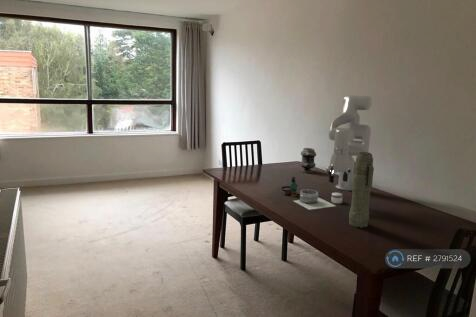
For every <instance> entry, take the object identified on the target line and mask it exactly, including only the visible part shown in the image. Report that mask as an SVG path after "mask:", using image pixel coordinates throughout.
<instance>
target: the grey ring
mask: <svg viewBox="0 0 476 317" xmlns="http://www.w3.org/2000/svg"><path fill="white" fill-rule="evenodd" d="M318 198H319V191H318V190H315V189H308V188H307V189H301V190H299V200H300V202H302V203H305V204H316V203H317V202H318Z"/></svg>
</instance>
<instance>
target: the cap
mask: <svg viewBox="0 0 476 317" xmlns="http://www.w3.org/2000/svg"><path fill="white" fill-rule="evenodd" d="M343 195H344V194H343V193H341V192H331V202H330V203H332V204H343V198H344V197H343Z"/></svg>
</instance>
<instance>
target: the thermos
mask: <svg viewBox="0 0 476 317" xmlns="http://www.w3.org/2000/svg"><path fill="white" fill-rule="evenodd" d="M373 157H374V156H373V154H372V153H371V152H369V151H368V152H360V153H358V155H357V156H355V163H354V174H353V180H352V194H351V205H350V209H349V212H348V214H349V215H348V218H349V219H348V225H349V226H351V225H352V226H351V227H353V226H354V228H357V227H360V228H359V229H364V228H363V227H366V228H368V226H369V225H368V224H369V219H370V210H369V208H370V198H371V191H372V188H373V180H374V179H373V178H374V169H375V168H374V158H373Z"/></svg>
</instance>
